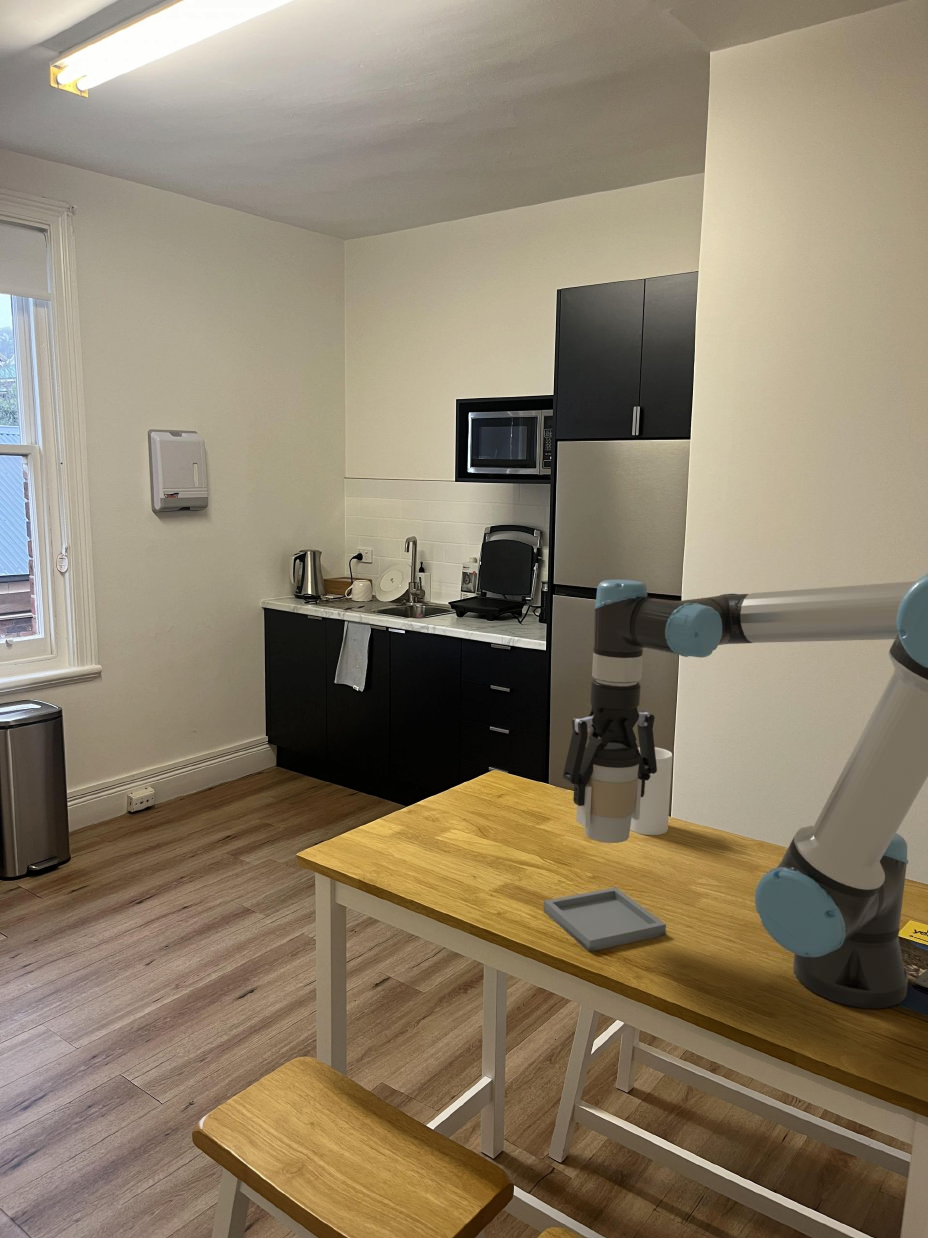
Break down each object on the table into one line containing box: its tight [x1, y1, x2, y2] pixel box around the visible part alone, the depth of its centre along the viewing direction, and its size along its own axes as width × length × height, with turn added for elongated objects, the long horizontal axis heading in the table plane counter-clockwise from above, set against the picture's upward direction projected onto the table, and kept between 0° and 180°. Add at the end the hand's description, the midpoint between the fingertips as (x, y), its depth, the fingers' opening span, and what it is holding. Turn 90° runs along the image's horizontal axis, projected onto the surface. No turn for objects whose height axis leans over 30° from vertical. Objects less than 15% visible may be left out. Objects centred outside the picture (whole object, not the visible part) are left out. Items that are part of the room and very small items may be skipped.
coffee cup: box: [584, 739, 641, 844], centre depth 143 cm, size 9×9×15 cm
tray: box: [543, 887, 667, 953], centre depth 146 cm, size 14×14×2 cm
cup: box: [630, 746, 673, 836], centre depth 186 cm, size 8×8×16 cm
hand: (607, 820), depth 144 cm, fingers closed on coffee cup, 8 cm apart
